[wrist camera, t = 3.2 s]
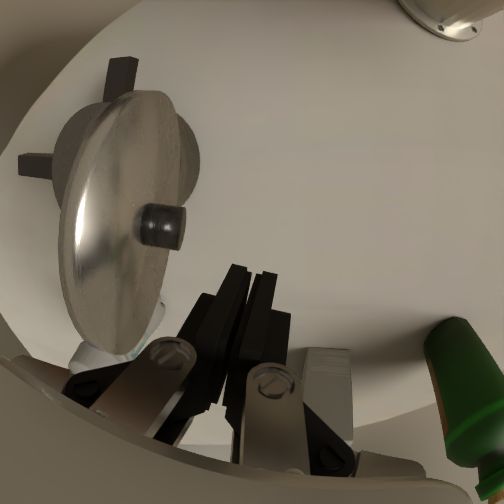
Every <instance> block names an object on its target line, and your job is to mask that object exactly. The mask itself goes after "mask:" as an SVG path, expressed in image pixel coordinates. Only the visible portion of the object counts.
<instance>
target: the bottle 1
mask: <svg viewBox="0 0 504 504" xmlns="http://www.w3.org/2000/svg"><path fill="white" fill-rule="evenodd" d="M164 313H165V305H164V304H163V303H160V295H159V297H158V301H157V304H156V307H155V310H154V313H153V315H152V318H151V320H150V323H149V325H148V327H147V329H146V331H145V333H144V335H143V337H142V339H141V340H140V341H139V343H138V344H137V346H136V347H135V348H134V349H133V350H132V351H130V352H129V353H127V354H124V355H114V354H110V353H107V352H103V351H100V350H97V349H95V348H93V347H91V346H90V345H88V344H87V343H86V342H85V341H83V342H81V343H80V345H79V347H78V349H77V350H76V352H75V354H74V355H73V357H72V359H71V360H70V362H69V365H68V367H69V370H71V371H72V373H73V374H77V373H80V372H83V371H87V370H92V369H97V368H101V367H106V366H110V365H115V364H119V363H123V362H127V361H131V360H134V359H135V358H136V356H137V355H138V353H139V352H140V350H141V349H142V347H143V346H144V344H145V343H146V341H147V340H148V338H149V337H150V336H151V335H152V333H153V332H154V331H155V330H156V329H157V327H158V326H159V325H160V323H161V321H162V319H163V316H164Z"/></svg>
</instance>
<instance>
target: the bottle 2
mask: <svg viewBox="0 0 504 504" xmlns="http://www.w3.org/2000/svg"><path fill="white" fill-rule="evenodd" d="M424 355H425V358H426V362H427V365H428V369H429V373H430V376H431V380H432V384H433V388H434V392H435V396H436V401H437V405H438V409H439V414H440V419H441V424H442V430H443V435H444V441H445V447H446V455H447V458H448V459H449V460H451V461H452V462H454V463H455V464H456V465H459V466H460V467H466V468H475V467H478V475H479V484H478V485H477V486H476V487H475V489H476V491H477V493H478V495H479V498H480V500H481V501H484V500H486V499H488V504H496V503H498V502H500V501H502V500H503V499H504V375H503V373H502V372H501V370H500V368H499V367H498V365H497V364H496V362H495V360H494V359H493V357H492V356H491V354H490V353H489V351H488V350H487V348H486V347H485V345H484V344H483V342H482V341H481V339H480V338H479V337H478V335H477V334H476V332H475V331H474V329H473V328H472V327H471V325H470V324H469V323H468V321H467V320H466V319H462V318H457V317H456V318H453V319H450V320H447V321H444V322H443V323H442V324H440V325H439V326H438V327H436V328H435V329H434V330H433V331H432V332H431V333H430V335H429V336H428V338H427V339H426V341H425V343H424Z"/></svg>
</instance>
